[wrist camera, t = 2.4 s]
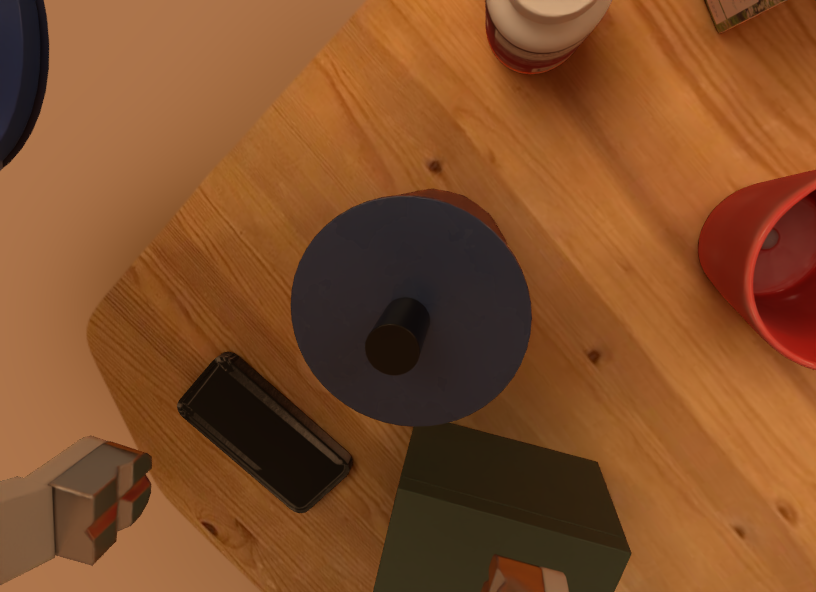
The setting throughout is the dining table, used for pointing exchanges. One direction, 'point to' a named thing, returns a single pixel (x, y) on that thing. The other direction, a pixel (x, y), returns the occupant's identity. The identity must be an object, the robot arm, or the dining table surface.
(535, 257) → the dining table surface
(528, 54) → the pill bottle
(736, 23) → the syrup box
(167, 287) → the dining table surface
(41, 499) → the robot arm
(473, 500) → the green open box
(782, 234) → the flower pot
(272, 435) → the phone
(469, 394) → the lid
